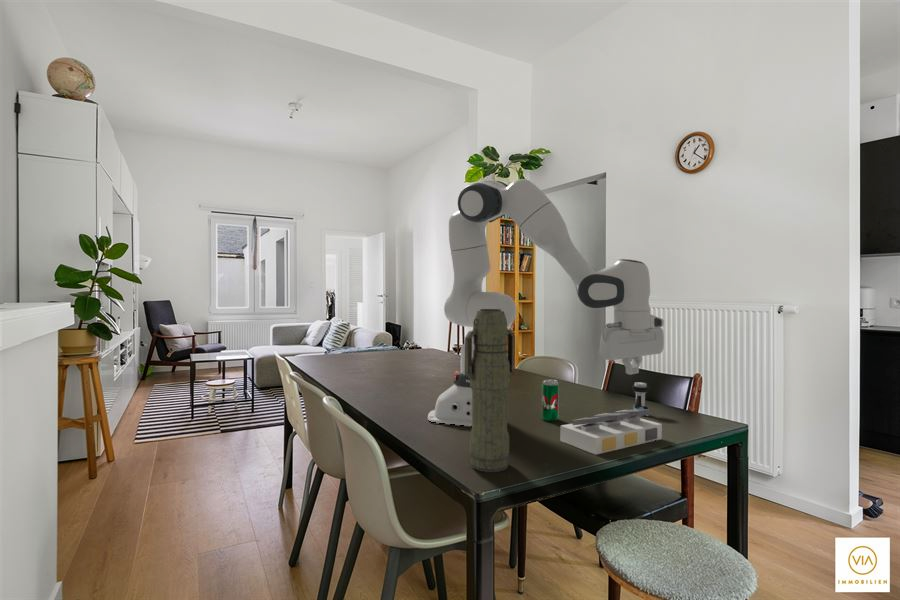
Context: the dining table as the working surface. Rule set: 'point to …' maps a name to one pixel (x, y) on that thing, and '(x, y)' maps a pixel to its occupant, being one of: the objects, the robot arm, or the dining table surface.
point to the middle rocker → (615, 416)
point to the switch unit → (611, 434)
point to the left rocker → (590, 420)
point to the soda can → (550, 400)
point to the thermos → (489, 388)
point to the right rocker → (635, 412)
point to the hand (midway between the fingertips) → (632, 373)
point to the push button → (640, 395)
